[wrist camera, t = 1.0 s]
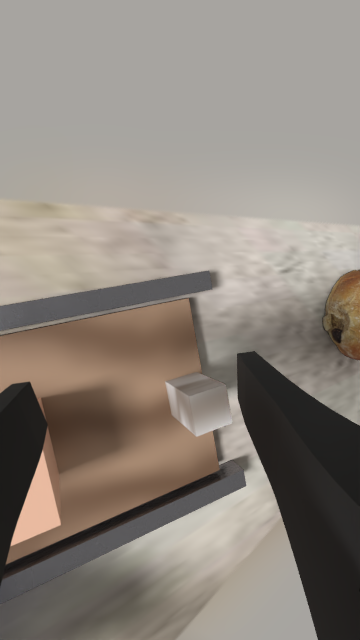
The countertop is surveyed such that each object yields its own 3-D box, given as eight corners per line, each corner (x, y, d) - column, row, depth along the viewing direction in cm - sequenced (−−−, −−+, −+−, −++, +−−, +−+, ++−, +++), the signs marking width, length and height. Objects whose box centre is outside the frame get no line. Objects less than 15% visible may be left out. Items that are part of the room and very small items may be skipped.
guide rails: (234, 475, 31) (246, 485, 29) (-89, 623, 21) (-102, 653, 19) (199, 273, 29) (209, 270, 27) (-177, 337, 19) (-201, 340, 17)
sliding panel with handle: (214, 464, 30) (251, 500, 24) (-98, 599, 21) (-153, 704, 15) (184, 298, 28) (216, 295, 22) (-169, 369, 19) (-259, 393, 14)
